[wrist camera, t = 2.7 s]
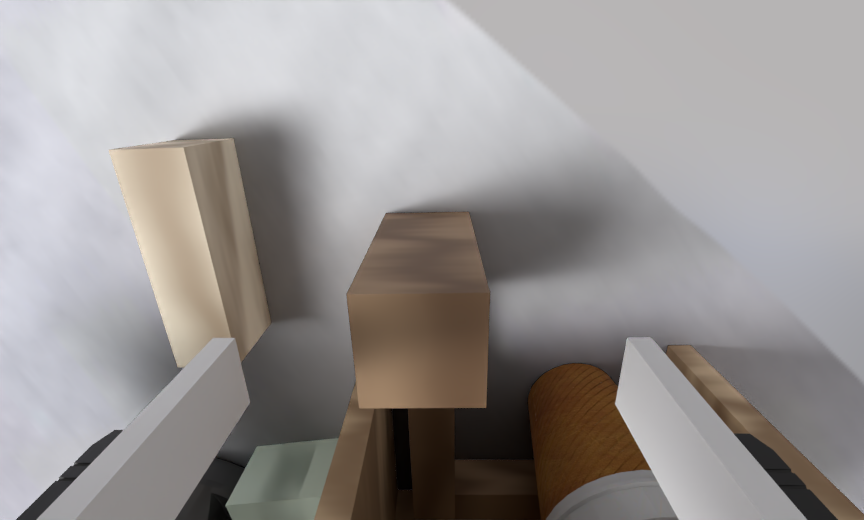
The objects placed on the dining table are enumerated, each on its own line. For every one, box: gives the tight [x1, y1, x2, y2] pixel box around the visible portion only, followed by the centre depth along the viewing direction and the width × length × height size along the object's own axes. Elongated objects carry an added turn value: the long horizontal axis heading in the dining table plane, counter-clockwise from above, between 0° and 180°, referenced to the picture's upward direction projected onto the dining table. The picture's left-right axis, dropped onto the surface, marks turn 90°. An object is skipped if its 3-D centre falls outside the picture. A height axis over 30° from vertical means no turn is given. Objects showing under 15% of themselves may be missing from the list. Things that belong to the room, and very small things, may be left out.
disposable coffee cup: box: [528, 363, 679, 520], centre depth 24 cm, size 10×10×12 cm
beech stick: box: [109, 138, 271, 368], centre depth 23 cm, size 4×12×5 cm, turn 2°
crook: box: [346, 212, 541, 519], centre depth 23 cm, size 16×22×11 cm
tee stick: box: [225, 438, 338, 520], centre depth 31 cm, size 7×10×5 cm
